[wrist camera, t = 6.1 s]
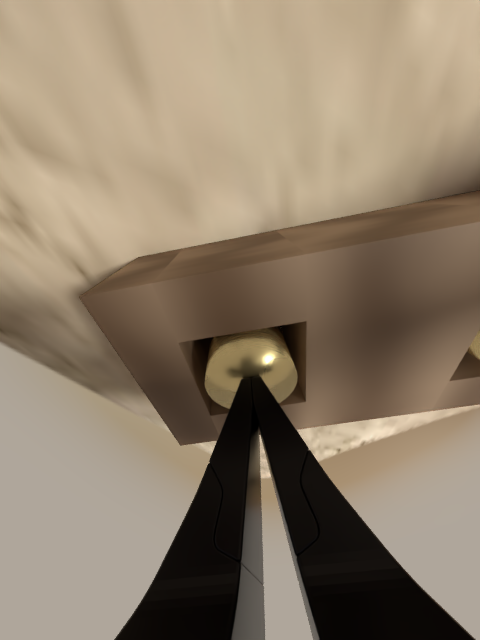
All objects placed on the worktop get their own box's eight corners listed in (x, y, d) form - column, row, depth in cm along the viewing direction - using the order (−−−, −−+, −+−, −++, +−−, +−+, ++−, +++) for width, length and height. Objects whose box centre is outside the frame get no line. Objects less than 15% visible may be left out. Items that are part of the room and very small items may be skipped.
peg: (272, 287, 12) (296, 340, 7) (277, 340, 14) (298, 404, 9) (206, 299, 12) (192, 357, 8) (221, 349, 14) (217, 416, 10)
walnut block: (574, 171, 9) (853, 151, 5) (477, 335, 15) (576, 390, 11) (138, 257, 11) (78, 296, 6) (193, 379, 16) (180, 445, 12)
